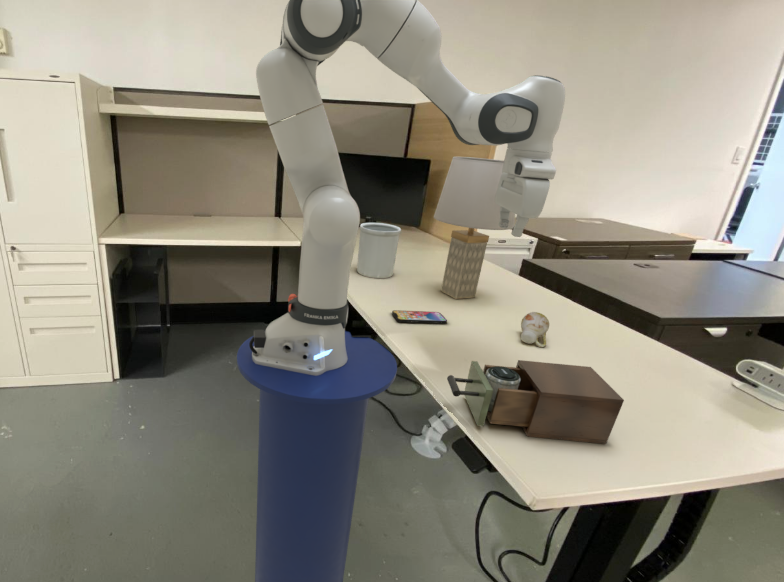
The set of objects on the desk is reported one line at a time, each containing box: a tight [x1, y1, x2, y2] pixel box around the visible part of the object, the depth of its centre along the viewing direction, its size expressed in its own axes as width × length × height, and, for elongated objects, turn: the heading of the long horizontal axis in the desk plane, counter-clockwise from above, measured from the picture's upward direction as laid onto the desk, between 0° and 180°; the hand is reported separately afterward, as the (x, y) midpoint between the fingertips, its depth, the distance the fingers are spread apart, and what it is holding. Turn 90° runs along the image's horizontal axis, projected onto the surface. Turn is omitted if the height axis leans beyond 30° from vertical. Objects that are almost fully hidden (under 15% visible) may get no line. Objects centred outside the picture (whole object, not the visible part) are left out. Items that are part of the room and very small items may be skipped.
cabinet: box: [515, 359, 625, 445], centre depth 90 cm, size 15×13×10 cm
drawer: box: [446, 360, 538, 427], centre depth 90 cm, size 18×11×8 cm, turn 87°
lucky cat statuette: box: [520, 311, 550, 348], centre depth 128 cm, size 8×10×10 cm
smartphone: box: [391, 309, 448, 325], centre depth 137 cm, size 7×1×15 cm
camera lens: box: [485, 365, 521, 412], centre depth 90 cm, size 6×6×8 cm
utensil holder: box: [356, 222, 402, 279], centre depth 173 cm, size 15×15×18 cm
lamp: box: [433, 156, 516, 300], centre depth 152 cm, size 25×25×44 cm
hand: (509, 231), depth 103 cm, fingers open, 8 cm apart
